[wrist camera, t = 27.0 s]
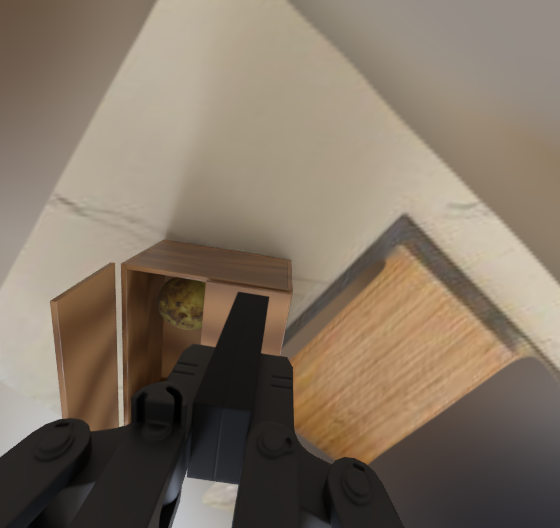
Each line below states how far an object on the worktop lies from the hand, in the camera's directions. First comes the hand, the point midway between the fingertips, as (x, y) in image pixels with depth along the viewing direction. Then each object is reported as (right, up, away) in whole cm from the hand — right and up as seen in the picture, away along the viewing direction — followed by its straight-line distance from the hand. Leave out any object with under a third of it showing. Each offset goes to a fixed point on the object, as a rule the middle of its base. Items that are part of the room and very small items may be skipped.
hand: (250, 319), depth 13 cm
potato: (-5, 0, +23) cm, 23 cm away
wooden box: (-7, -5, +25) cm, 26 cm away
